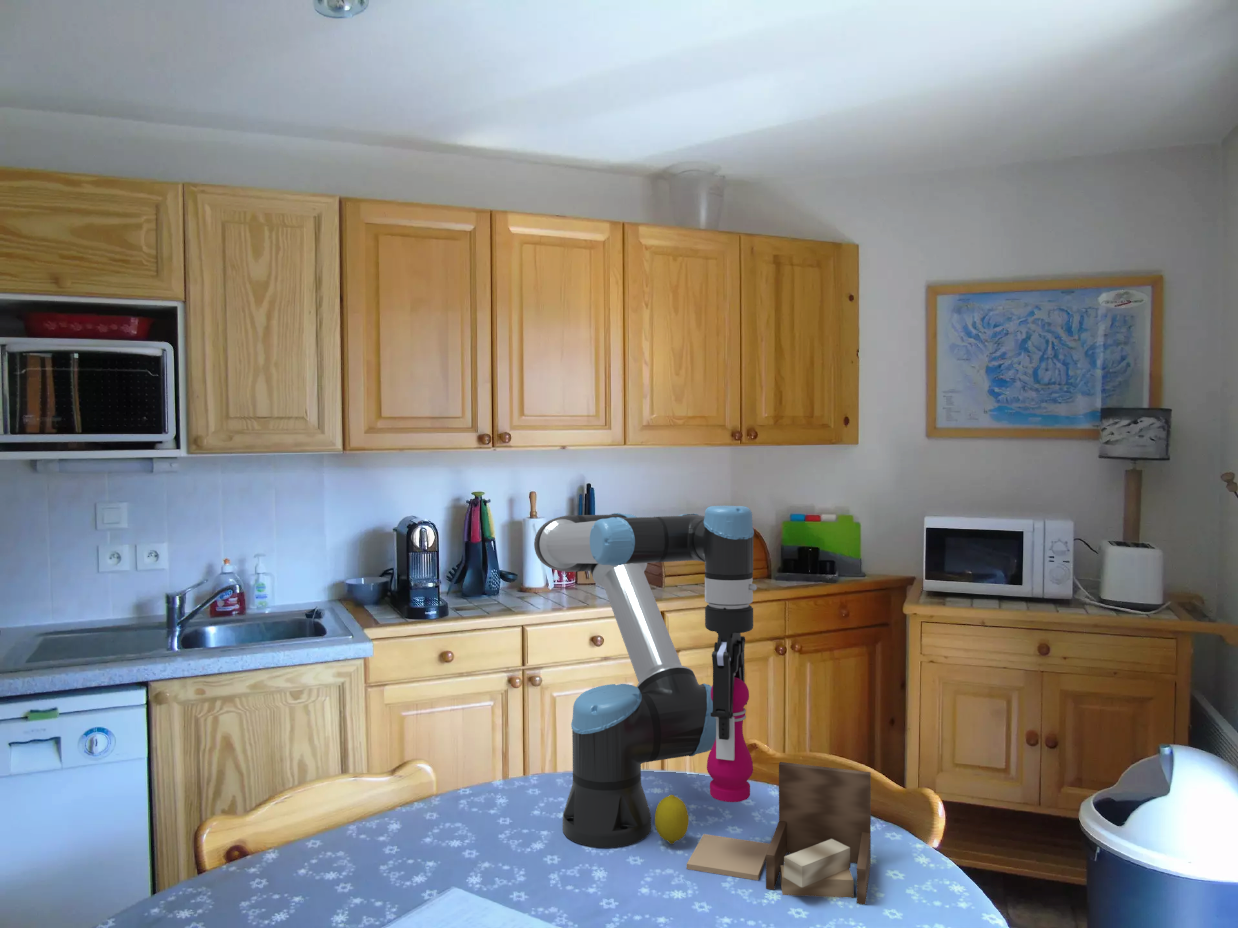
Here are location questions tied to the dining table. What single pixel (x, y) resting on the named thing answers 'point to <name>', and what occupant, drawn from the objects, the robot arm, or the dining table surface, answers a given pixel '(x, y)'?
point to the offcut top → (816, 862)
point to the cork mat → (729, 857)
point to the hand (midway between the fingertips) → (729, 751)
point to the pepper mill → (730, 773)
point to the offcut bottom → (821, 886)
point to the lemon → (671, 819)
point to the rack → (822, 817)
